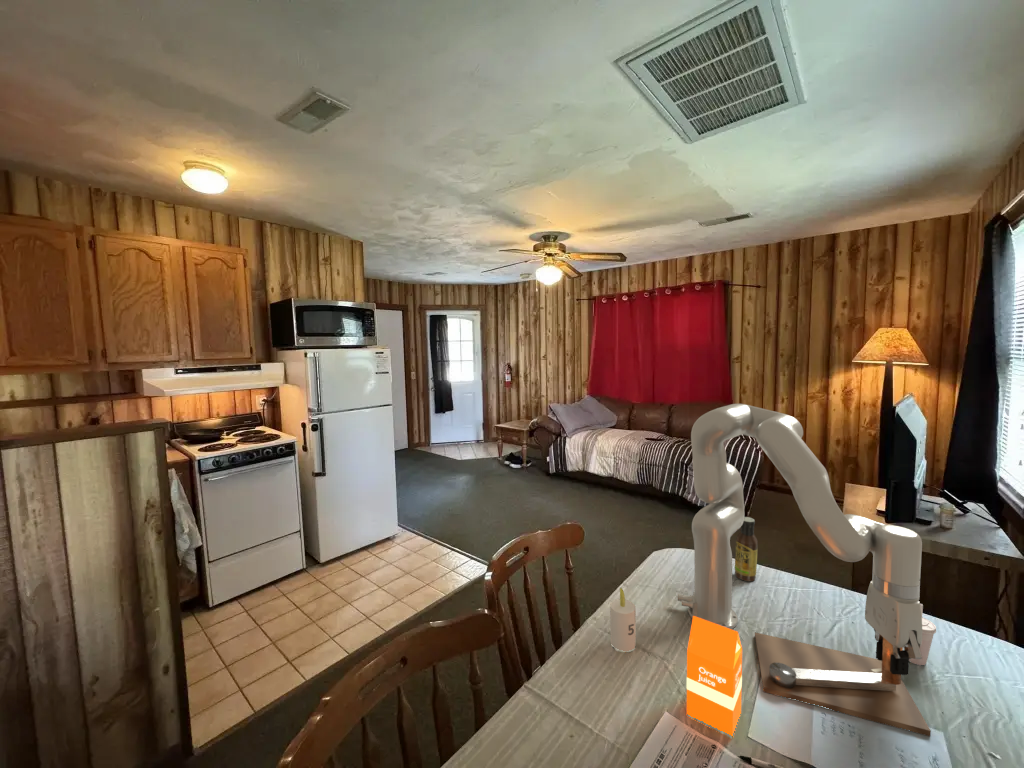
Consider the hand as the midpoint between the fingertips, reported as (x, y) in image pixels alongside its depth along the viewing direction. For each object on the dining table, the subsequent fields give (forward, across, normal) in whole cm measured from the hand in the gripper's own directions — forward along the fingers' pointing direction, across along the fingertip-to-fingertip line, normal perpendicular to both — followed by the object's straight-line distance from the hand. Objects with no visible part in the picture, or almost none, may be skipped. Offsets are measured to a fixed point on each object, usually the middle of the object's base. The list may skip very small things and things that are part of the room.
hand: (891, 665), depth 93 cm
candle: (+6, -11, -55) cm, 57 cm away
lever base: (+6, -3, -11) cm, 13 cm away
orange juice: (+6, +8, -40) cm, 41 cm away
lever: (+5, 0, -11) cm, 12 cm away
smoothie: (+6, -11, +13) cm, 18 cm away
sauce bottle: (+6, -46, -11) cm, 48 cm away
